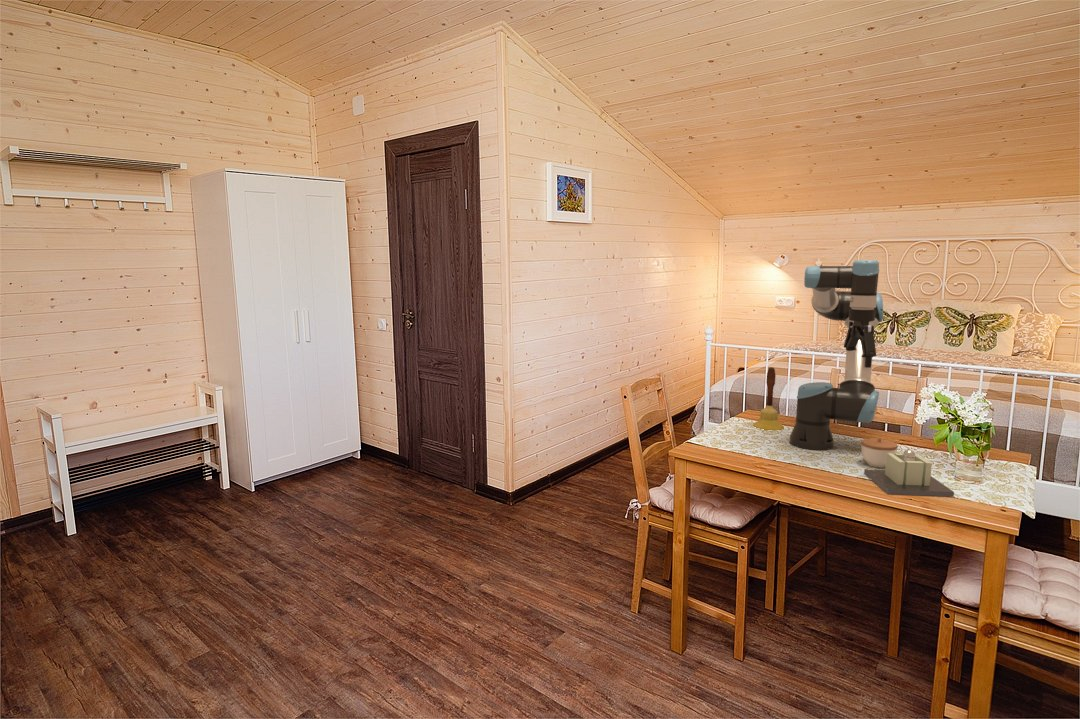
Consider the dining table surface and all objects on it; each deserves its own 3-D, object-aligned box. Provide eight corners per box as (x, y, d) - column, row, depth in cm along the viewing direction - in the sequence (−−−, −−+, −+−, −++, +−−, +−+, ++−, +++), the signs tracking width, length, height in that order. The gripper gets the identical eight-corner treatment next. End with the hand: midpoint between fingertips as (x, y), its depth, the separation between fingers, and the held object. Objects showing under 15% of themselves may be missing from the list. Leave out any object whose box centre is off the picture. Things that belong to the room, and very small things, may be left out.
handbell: (748, 423, 262) (750, 365, 258) (776, 422, 263) (779, 365, 259) (760, 431, 250) (763, 370, 246) (789, 430, 250) (793, 370, 246)
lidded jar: (884, 459, 213) (886, 433, 212) (902, 470, 203) (905, 442, 201) (853, 459, 213) (855, 433, 212) (870, 470, 203) (872, 442, 201)
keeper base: (864, 473, 199) (866, 440, 197) (923, 475, 197) (926, 442, 195) (887, 494, 181) (891, 458, 180) (953, 496, 179) (957, 460, 177)
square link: (884, 474, 194) (886, 453, 193) (915, 475, 193) (917, 454, 192) (897, 484, 185) (899, 462, 184) (929, 485, 184) (931, 463, 183)
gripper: (836, 305, 210) (832, 366, 214) (865, 311, 186) (860, 380, 189) (859, 305, 210) (854, 367, 213) (891, 311, 185) (885, 381, 189)
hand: (857, 373), depth 201 cm, fingers open, 13 cm apart
